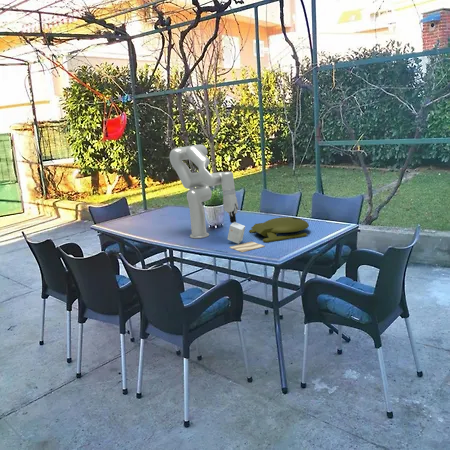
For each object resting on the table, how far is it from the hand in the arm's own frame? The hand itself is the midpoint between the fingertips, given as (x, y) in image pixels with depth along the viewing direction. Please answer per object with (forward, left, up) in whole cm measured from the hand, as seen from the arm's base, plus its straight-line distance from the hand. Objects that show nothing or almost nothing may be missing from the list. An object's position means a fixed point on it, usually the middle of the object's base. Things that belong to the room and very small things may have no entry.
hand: (233, 222), depth 288 cm
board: (+15, -1, -13) cm, 20 cm away
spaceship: (+5, +32, -13) cm, 35 cm away
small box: (+1, -1, -11) cm, 11 cm away
